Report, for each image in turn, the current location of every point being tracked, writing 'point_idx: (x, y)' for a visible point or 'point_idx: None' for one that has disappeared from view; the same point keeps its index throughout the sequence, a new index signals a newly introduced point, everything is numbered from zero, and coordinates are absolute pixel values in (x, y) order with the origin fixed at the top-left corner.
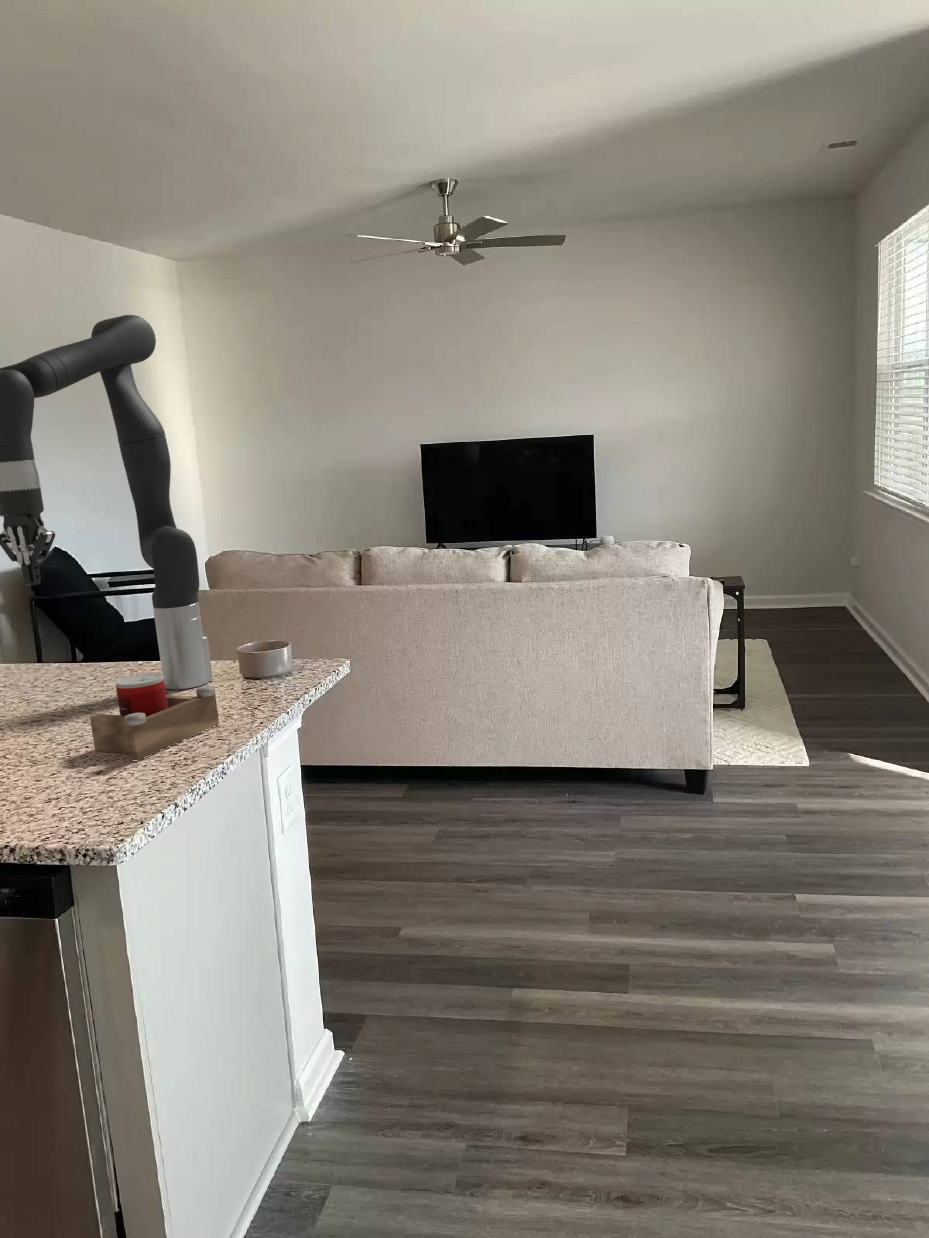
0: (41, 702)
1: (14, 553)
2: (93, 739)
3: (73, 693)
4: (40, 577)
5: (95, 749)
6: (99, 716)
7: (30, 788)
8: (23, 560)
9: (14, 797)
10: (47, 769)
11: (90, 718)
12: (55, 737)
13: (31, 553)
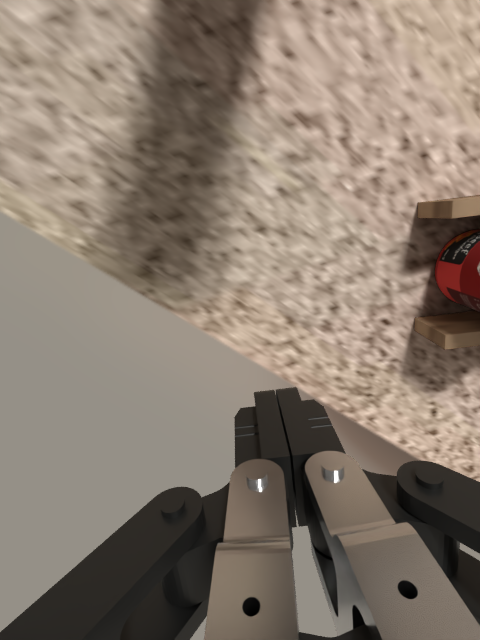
0: (19, 155)
1: (190, 618)
2: (423, 335)
3: (9, 68)
4: (325, 411)
5: (416, 330)
6: (464, 344)
7: (445, 451)
8: (291, 554)
9: None
10: (408, 404)
11: (443, 348)
12: (287, 308)
13: (287, 523)
